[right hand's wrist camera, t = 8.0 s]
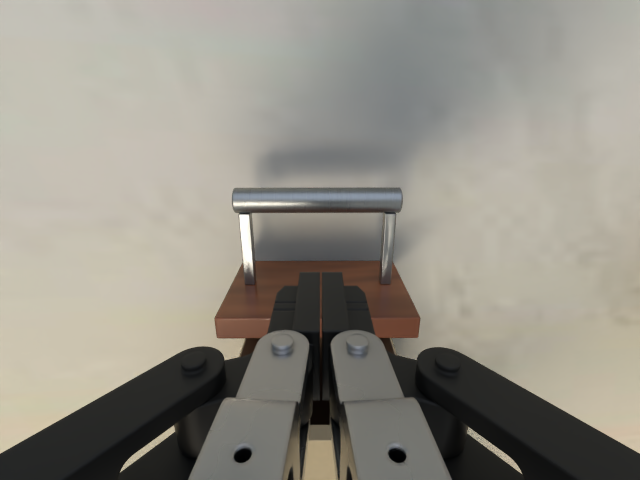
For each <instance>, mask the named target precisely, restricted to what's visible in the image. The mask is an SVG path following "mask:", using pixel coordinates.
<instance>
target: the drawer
mask: <svg viewBox="0 0 640 480" xmlns="http://www.w3.org/2000/svg"><path fill="white" fill-rule="evenodd" d="M402 202H403V196H402V190H401V188H234V190H233V193H232V206H233V210H234V212H235V213H239V224H240V235H241V247H242V258H243V263H242V265H241V267H240V269H239V271H238V273H237V275H236V277H235V279H234V281H233V283H232V285H231V287H230V289H229V291H228V293H227V295H226V297H225V299H224V301H223V303H222V305H221V307H220V309H219V310H218V312H217V314H216V316H215V326H216V334H217V338H246V340H245V343H244V346H243V349H242V352H241V355H240V357H242V356H245V355H248V354H250V353H252V352H254V349H255V347H256V344H257V342H258V341H259V340H260V339H261V338H262V337H263V336H265V335H266V334H267V332H268V328H269V324H270V320H271V315H272V311H273V307H274V303H275V299H276V295H277V292H278V291H279V290H281V289H282V288H283V287H284V286H298V281H299V274H300V272H320V400H313V411H312V416H311V418H310V425H330V400H322V272H342V275H343V282H344V286H358V287H359V288H360V289H361V290H362V291H363V292H365V295H366V299H367V303H368V307H369V311H370V315H371V319H372V323H373V327H374V331H375V335H376V336H377V337H378V338H379V339H380V340H381V341H382V342H383V344H384V347H385V349H386V350H387V351H389V352H390V353H392V354H395V353H394V350H393V347H392V343H391V340H390V338H417V337H418V334H419V325H420V316H419V314H418V312H417V310H416V308H415V306H414V304H413V302H412V300H411V298H410V296H409V294H408V292H407V290H406V288H405V286H404V283H403V281H402V279H401V277H400V275H399V273H398V271H397V269H396V267H395V265H394V263H393V248H394V235H395V223H396V213H399V212H400V211H401V208H402ZM252 213H383V225H382V240H381V255H380V261H255V251H254V237H253V224H252Z"/></svg>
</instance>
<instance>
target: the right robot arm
mask: <svg viewBox="0 0 640 480" xmlns="http://www.w3.org/2000/svg"><path fill="white" fill-rule="evenodd" d="M313 400H320V272H300V274H299V281H298V286H284V287H283V288H282V289H281V290H279V291H278V292H277V295H276V299H275V303H274V307H273V311H272V315H271V320H270V324H269V328H268V332H267V334H266V335H265V336H263V337H262V338H261V339H260V340H259V341H258V342H257V344H256V347H255V349H254V352H252V353H250V354H248V355H245V356H242V357H238V358H234V359H230V360H225V361H224V356H223V354H222V353H221V352H220V351H219V350H217V349H215V348H212V347H195V348H190V349H187V350H184V351H182V352H180V353H178V354H176V355H175V356H173V357H171V358H169V359H168V360H166V361H164V362H162V363H160V364H159V365H157V366H155V367H153V368H152V369H150V370H148V371H146V372H145V373H143V374H141V375H139V376H137V377H136V378H134V379H132V380H130V381H129V382H127V383H125V384H123V385H121V386H120V387H118V388H116V389H114V390H113V391H111V392H109V393H107V394H105V395H104V396H102V397H100V398H98V399H97V400H95V401H93V402H91V403H90V404H88V405H86V406H84V407H82V408H81V409H79V410H77V411H75V412H74V413H72V414H70V415H68V416H66V417H65V418H63V419H61V420H59V421H58V422H56V423H54V424H52V425H51V426H49V427H47V428H45V429H43V430H42V431H40V432H38V433H36V434H35V435H33V436H31V437H29V438H27V439H26V440H24V441H22V442H20V443H19V444H17V445H15V446H13V447H12V448H10V449H8V450H6V451H4V452H3V453H1V454H0V480H304V475H305V467H306V458H307V450H308V441H309V433H310V418H311V416H312V411H313ZM322 400H330V433H331V441H332V450H333V458H334V467H335V475H336V480H640V454H639V453H637V452H636V451H634V450H632V449H630V448H629V447H627V446H625V445H623V444H621V443H620V442H618V441H616V440H614V439H613V438H611V437H609V436H607V435H605V434H604V433H602V432H600V431H598V430H597V429H595V428H593V427H591V426H589V425H588V424H586V423H584V422H582V421H581V420H579V419H577V418H575V417H574V416H572V415H570V414H568V413H566V412H565V411H563V410H561V409H559V408H558V407H556V406H554V405H552V404H550V403H549V402H547V401H545V400H543V399H542V398H540V397H538V396H536V395H535V394H533V393H531V392H529V391H527V390H526V389H524V388H522V387H520V386H519V385H517V384H515V383H513V382H511V381H510V380H508V379H506V378H504V377H503V376H501V375H499V374H497V373H496V372H494V371H492V370H490V369H488V368H487V367H485V366H483V365H481V364H480V363H478V362H476V361H474V360H472V359H471V358H469V357H467V356H465V355H464V354H462V353H460V352H457V351H455V350H452V349H448V348H441V347H434V348H429V349H426V350H424V351H422V352H421V353H420V354H419V356H418V358H417V360H414V359H409V358H405V357H401V356H397V355H395V354H392V353H390V352H389V351H387V350H386V349H385V347H384V344H383V342H382V341H381V340H380V339H379V338H378V337H377V336H376V335H375V331H374V327H373V323H372V319H371V315H370V311H369V307H368V303H367V299H366V295H365V292H363V291H362V290H361V289H360V288H359V287H358V286H344V282H343V275H342V272H322ZM173 425H174V427H175V432H174V433H173V434H172V435H170V436H169V437H168V438H166V439H165V440H164V441H162V442H161V443H160V444H158V445H157V446H156V447H154V448H153V449H151V450H150V451H149V452H147V453H146V454H145V455H143V456H142V457H141V458H139V459H138V460H137V461H135V462H134V463H133V464H131V465H130V466H129V467H127V468H126V469H125V470H123V471H122V472H120V470H121V468H122V467H123V465H124V464H125V462H126V461H127V460H128V459H129V458H130V457H131V456H132V455H133V454H134V453H136V452H137V451H139V450H140V449H141V448H143V447H144V446H145V445H147V444H148V443H150V442H151V441H152V440H154V439H155V438H157V437H158V436H159V435H161V434H162V433H163V432H165V431H166V430H168V429H169V428H170V427H172V426H173ZM468 427H470V428H471V429H472V430H474V431H475V432H477V433H478V434H479V435H481V436H482V437H483V438H485V439H486V440H488V441H489V442H490V443H492V444H493V445H495V446H496V447H497V448H499V449H500V450H501V451H503V452H504V453H506V454H507V455H508V456H509V457H511V458H512V459H513V460H514V461H515V462H516V464H517V465H518V466H519V468H520V470H521V472H522V474H523V475H522V474H521V473H520V472H518V471H517V470H515V469H514V468H513V467H511V466H510V465H509V464H507V463H506V462H505V461H503V460H502V459H501V458H499V457H498V456H497V455H495V454H494V453H493V452H491V451H490V450H489V449H487V448H486V447H484V446H483V445H482V444H480V443H479V442H478V441H476V440H475V439H474V438H472V437H471V436H470V435H468V434H467V430H468Z"/></svg>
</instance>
